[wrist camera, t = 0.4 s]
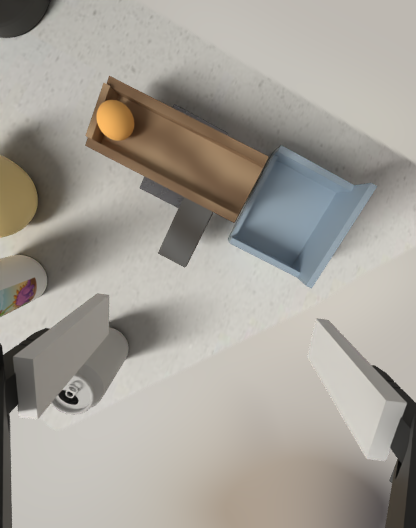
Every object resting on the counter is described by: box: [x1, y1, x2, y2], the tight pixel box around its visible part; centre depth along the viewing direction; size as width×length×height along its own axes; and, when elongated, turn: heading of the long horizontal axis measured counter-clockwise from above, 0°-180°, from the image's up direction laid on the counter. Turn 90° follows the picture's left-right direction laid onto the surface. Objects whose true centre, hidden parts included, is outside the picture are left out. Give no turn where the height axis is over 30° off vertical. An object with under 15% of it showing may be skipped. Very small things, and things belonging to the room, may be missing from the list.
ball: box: [96, 100, 134, 141], centre depth 28 cm, size 4×4×4 cm
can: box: [51, 327, 129, 415], centre depth 37 cm, size 8×8×12 cm
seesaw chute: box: [85, 76, 268, 267], centre depth 30 cm, size 16×20×3 cm
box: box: [228, 145, 377, 288], centre depth 33 cm, size 14×11×8 cm
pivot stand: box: [140, 104, 228, 208], centre depth 33 cm, size 12×8×4 cm, turn 153°
